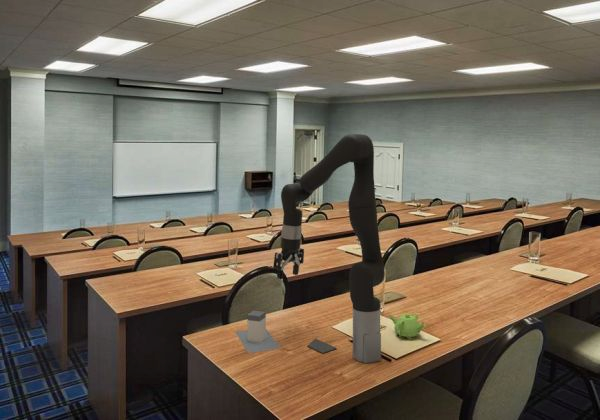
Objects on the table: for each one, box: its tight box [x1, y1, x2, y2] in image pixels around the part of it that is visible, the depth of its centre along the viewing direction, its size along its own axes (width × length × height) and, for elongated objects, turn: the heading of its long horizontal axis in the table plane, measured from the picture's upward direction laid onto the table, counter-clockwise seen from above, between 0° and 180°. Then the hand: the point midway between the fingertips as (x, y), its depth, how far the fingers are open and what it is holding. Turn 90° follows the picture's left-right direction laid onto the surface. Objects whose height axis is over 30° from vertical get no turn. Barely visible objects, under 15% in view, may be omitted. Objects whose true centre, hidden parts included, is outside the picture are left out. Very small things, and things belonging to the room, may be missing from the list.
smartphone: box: [306, 337, 337, 355], centre depth 172 cm, size 7×1×15 cm
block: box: [246, 310, 267, 343], centre depth 176 cm, size 5×5×10 cm
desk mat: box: [235, 328, 282, 354], centre depth 177 cm, size 22×12×1 cm, turn 20°
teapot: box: [389, 313, 427, 340], centre depth 179 cm, size 11×12×8 cm
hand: (287, 276), depth 182 cm, fingers open, 8 cm apart
